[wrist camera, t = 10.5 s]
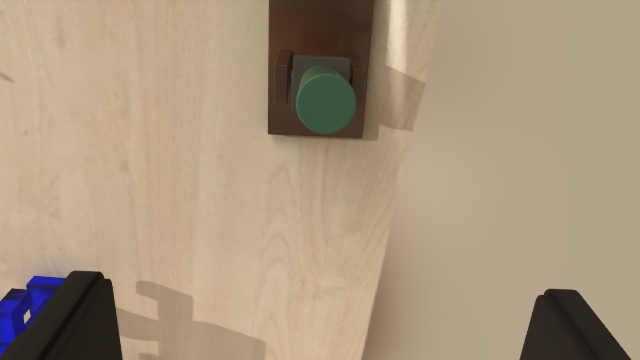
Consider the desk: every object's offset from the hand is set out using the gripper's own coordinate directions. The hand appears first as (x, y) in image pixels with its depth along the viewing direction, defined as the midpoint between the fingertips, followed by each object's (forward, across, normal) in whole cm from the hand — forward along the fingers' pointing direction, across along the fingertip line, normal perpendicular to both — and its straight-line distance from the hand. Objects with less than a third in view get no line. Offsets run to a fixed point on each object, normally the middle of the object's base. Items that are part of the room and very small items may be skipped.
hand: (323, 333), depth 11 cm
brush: (+17, 0, -3) cm, 17 cm away
